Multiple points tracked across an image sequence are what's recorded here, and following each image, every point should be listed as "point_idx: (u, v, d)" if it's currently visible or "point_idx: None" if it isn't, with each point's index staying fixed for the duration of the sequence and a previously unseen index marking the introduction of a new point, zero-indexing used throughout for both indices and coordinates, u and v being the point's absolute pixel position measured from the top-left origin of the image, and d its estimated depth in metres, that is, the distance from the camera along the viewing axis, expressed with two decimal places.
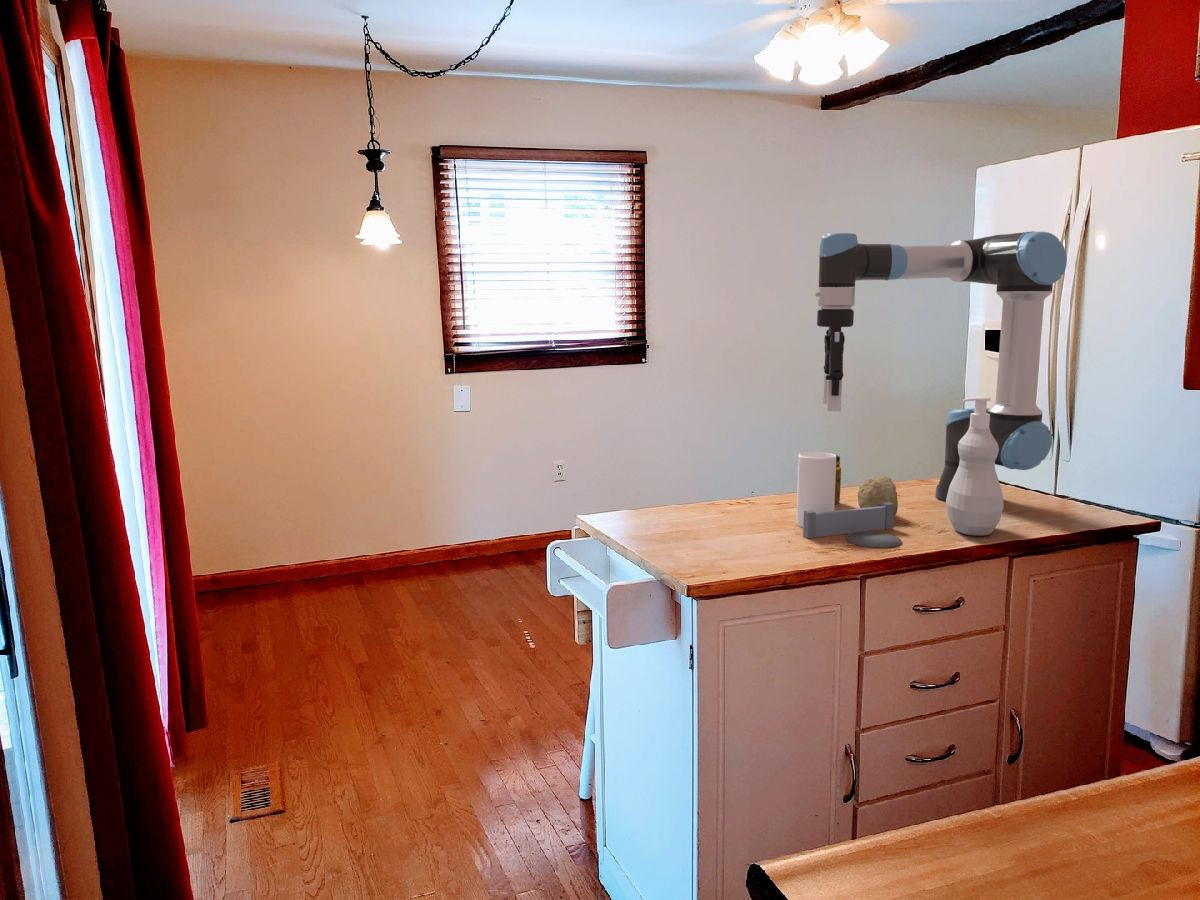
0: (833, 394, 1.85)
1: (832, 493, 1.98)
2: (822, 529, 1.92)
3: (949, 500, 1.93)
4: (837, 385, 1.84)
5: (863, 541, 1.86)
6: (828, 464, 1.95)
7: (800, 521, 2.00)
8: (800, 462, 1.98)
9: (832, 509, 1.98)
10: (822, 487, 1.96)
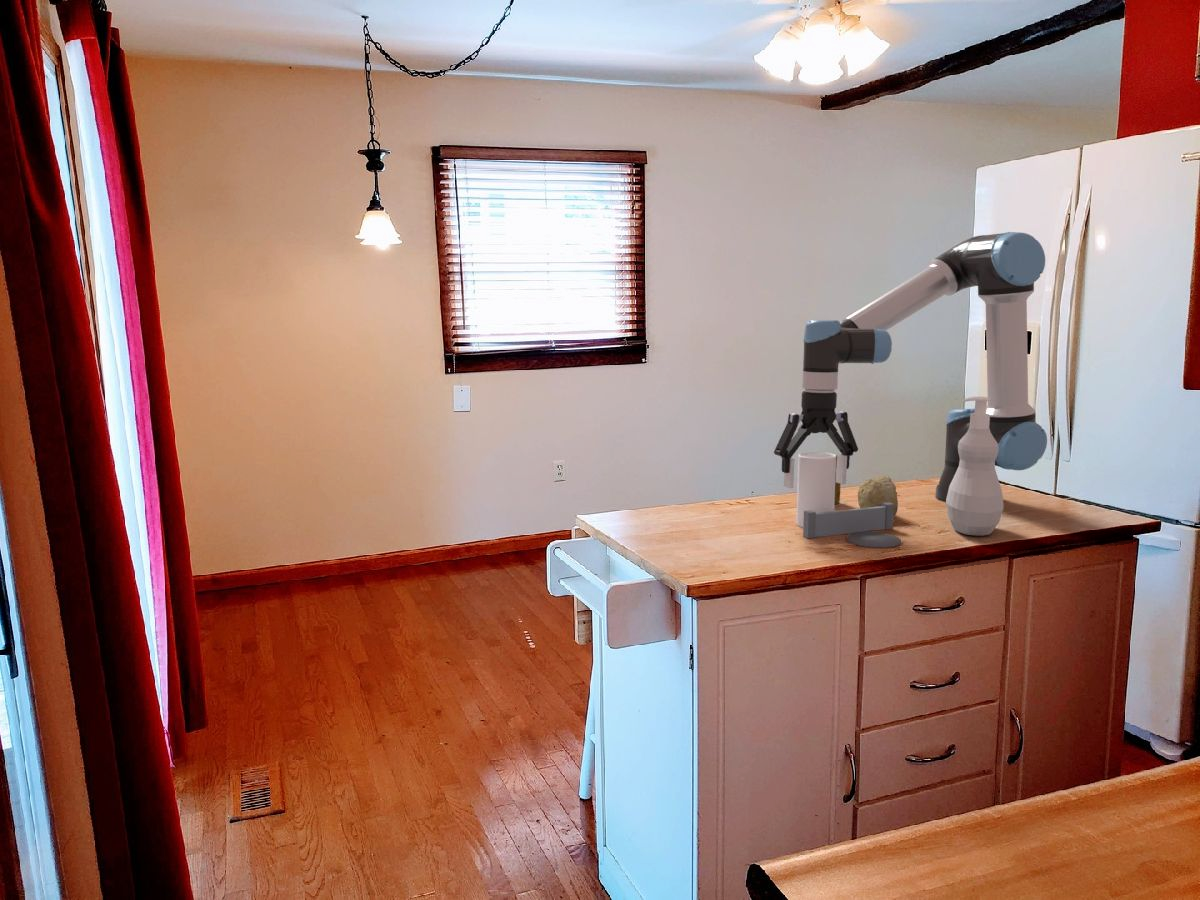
0: (782, 471, 1.97)
1: (832, 493, 1.98)
2: (822, 529, 1.92)
3: (949, 500, 1.93)
4: (784, 463, 1.96)
5: (863, 541, 1.86)
6: (828, 464, 1.95)
7: (800, 521, 2.00)
8: (800, 462, 1.98)
9: (832, 509, 1.98)
10: (822, 487, 1.96)
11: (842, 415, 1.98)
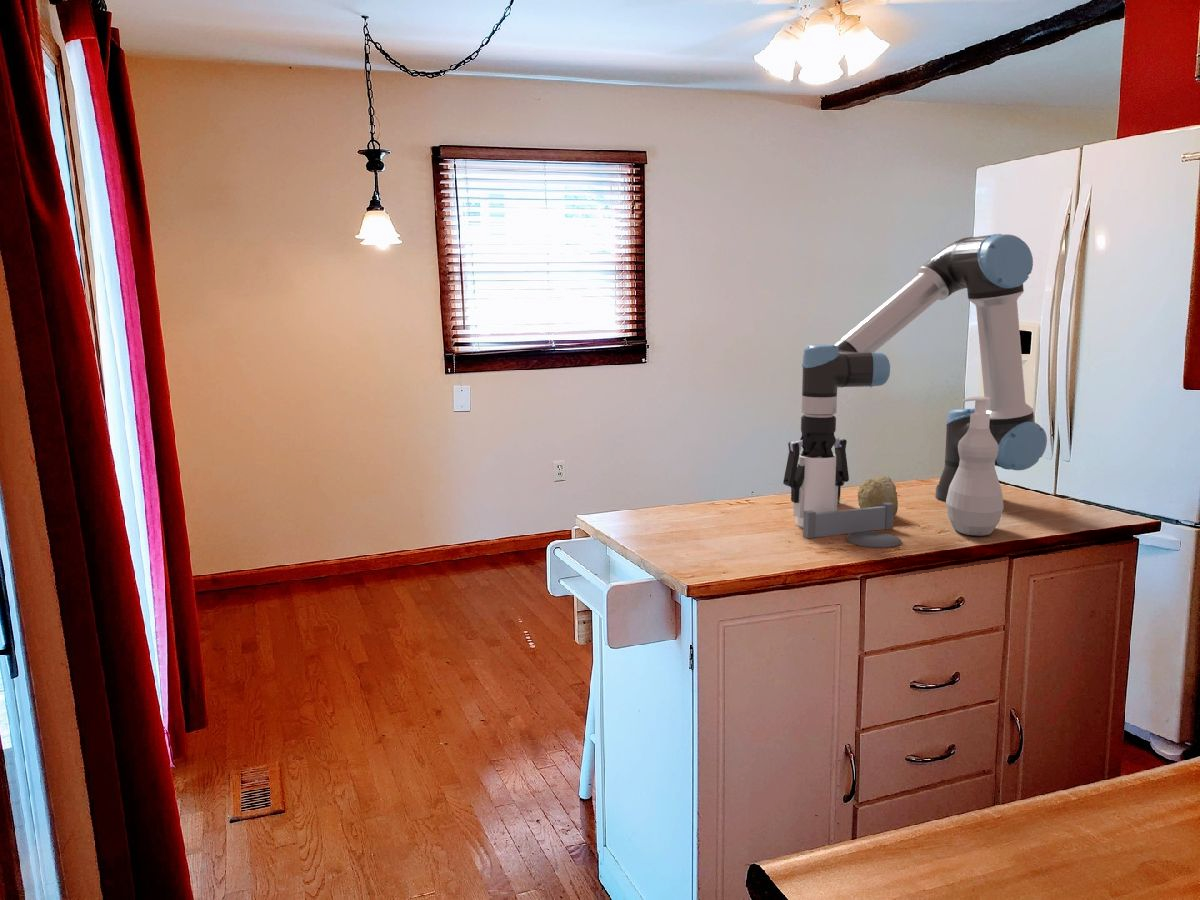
0: (792, 500, 1.99)
1: (832, 493, 1.98)
2: (822, 529, 1.92)
3: (949, 500, 1.93)
4: (793, 493, 1.98)
5: (863, 541, 1.86)
6: (828, 464, 1.95)
7: (800, 521, 2.00)
8: (800, 462, 1.98)
9: (832, 509, 1.98)
10: (822, 487, 1.96)
11: (841, 442, 1.99)
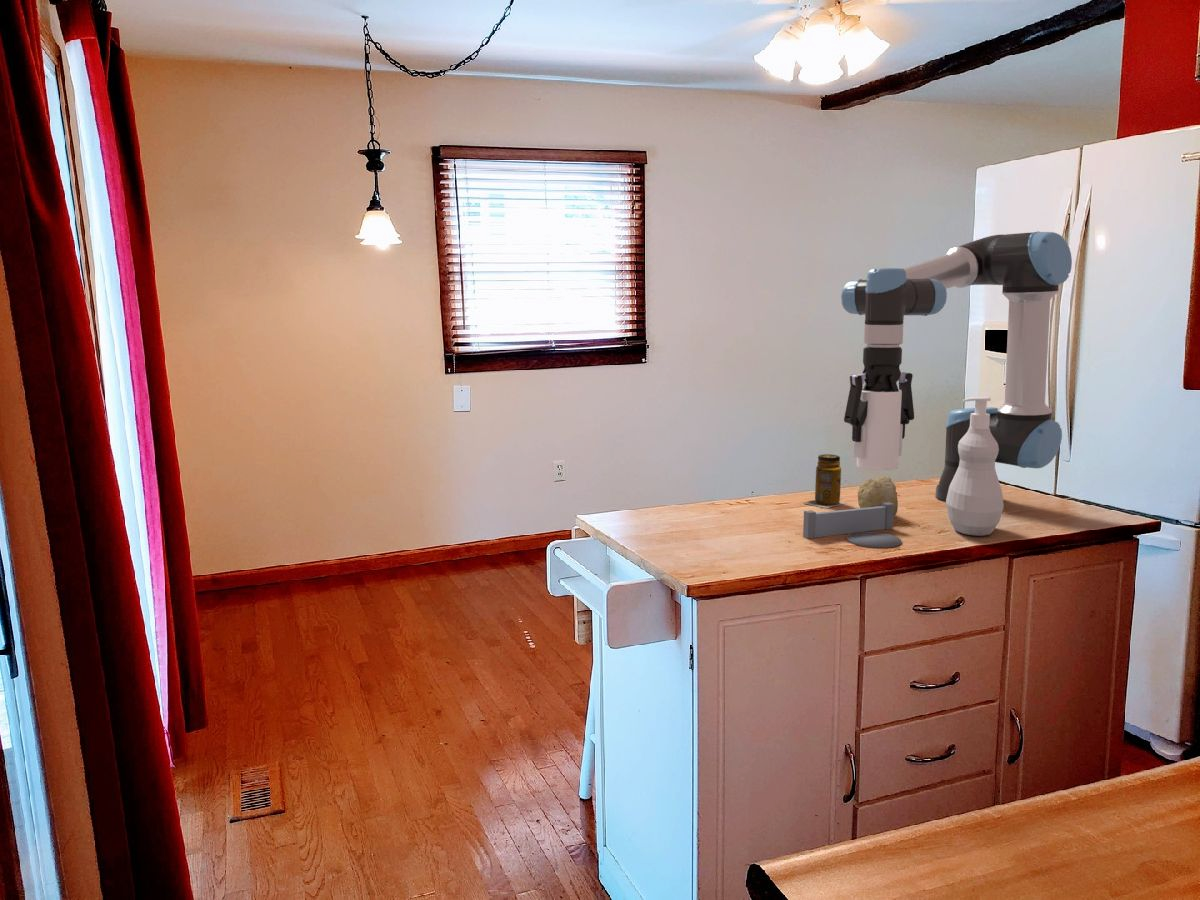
0: (853, 440, 1.83)
1: (897, 431, 1.81)
2: (822, 529, 1.92)
3: (949, 500, 1.93)
4: (855, 431, 1.82)
5: (863, 541, 1.86)
6: (894, 399, 1.79)
7: (862, 462, 1.83)
8: (862, 397, 1.82)
9: (897, 449, 1.82)
10: (887, 424, 1.80)
11: (907, 376, 1.83)
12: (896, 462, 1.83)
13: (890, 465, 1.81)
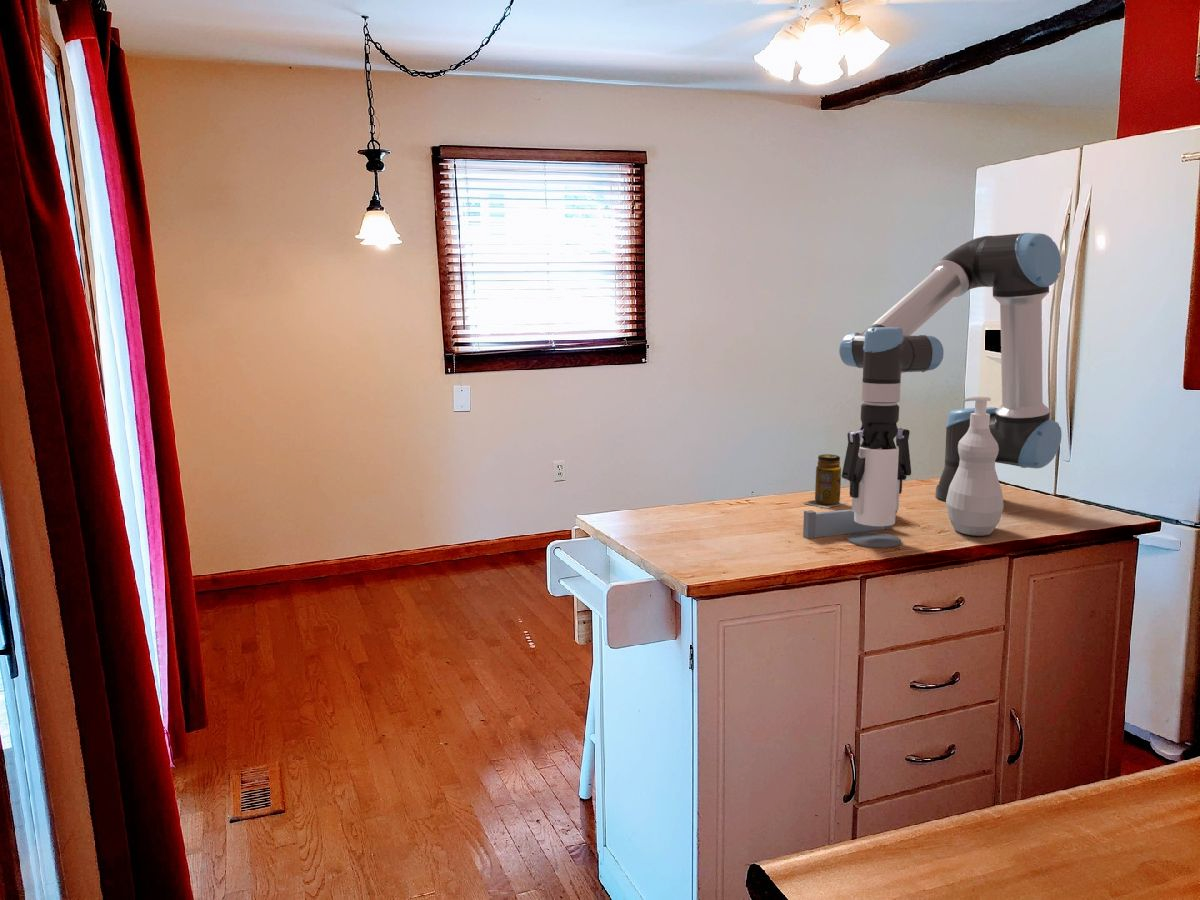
0: (850, 495, 1.85)
1: (894, 487, 1.83)
2: (822, 529, 1.92)
3: (949, 500, 1.93)
4: (853, 487, 1.84)
5: (863, 541, 1.86)
6: (891, 456, 1.81)
7: (859, 518, 1.85)
8: (860, 454, 1.84)
9: (894, 505, 1.84)
10: (884, 481, 1.82)
11: (904, 432, 1.85)
12: (893, 518, 1.84)
13: (887, 521, 1.83)
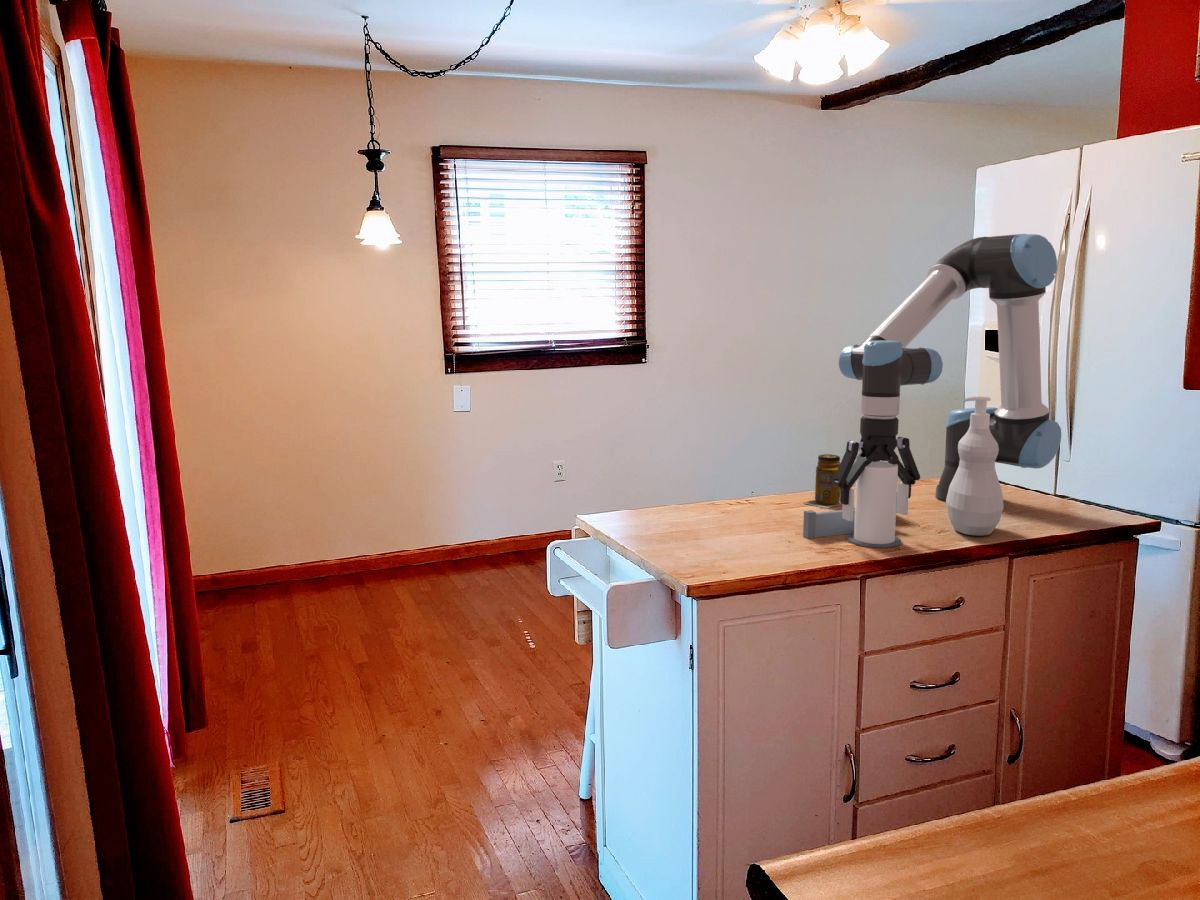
0: (841, 502, 1.84)
1: (894, 505, 1.84)
2: (822, 529, 1.92)
3: (949, 500, 1.93)
4: (843, 494, 1.83)
5: None
6: (890, 474, 1.82)
7: (859, 535, 1.86)
8: None
9: (894, 522, 1.85)
10: (884, 499, 1.82)
11: (904, 442, 1.86)
12: (893, 535, 1.85)
13: (887, 538, 1.84)
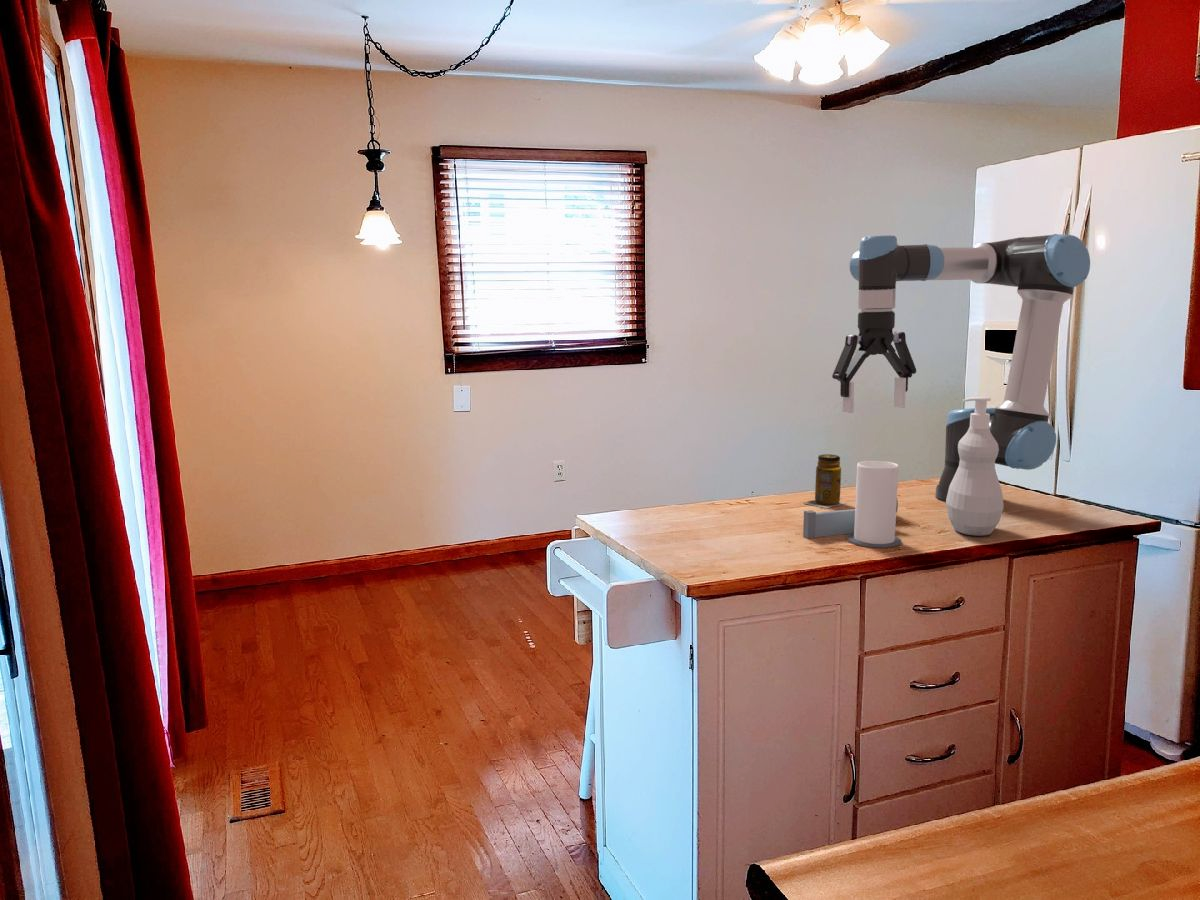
0: (841, 395, 1.90)
1: (894, 505, 1.84)
2: (822, 529, 1.92)
3: (949, 500, 1.93)
4: (843, 387, 1.89)
5: None
6: (890, 474, 1.82)
7: (859, 535, 1.86)
8: (860, 472, 1.85)
9: (894, 522, 1.85)
10: (884, 499, 1.82)
11: (900, 335, 1.92)
12: (893, 535, 1.85)
13: (887, 539, 1.84)
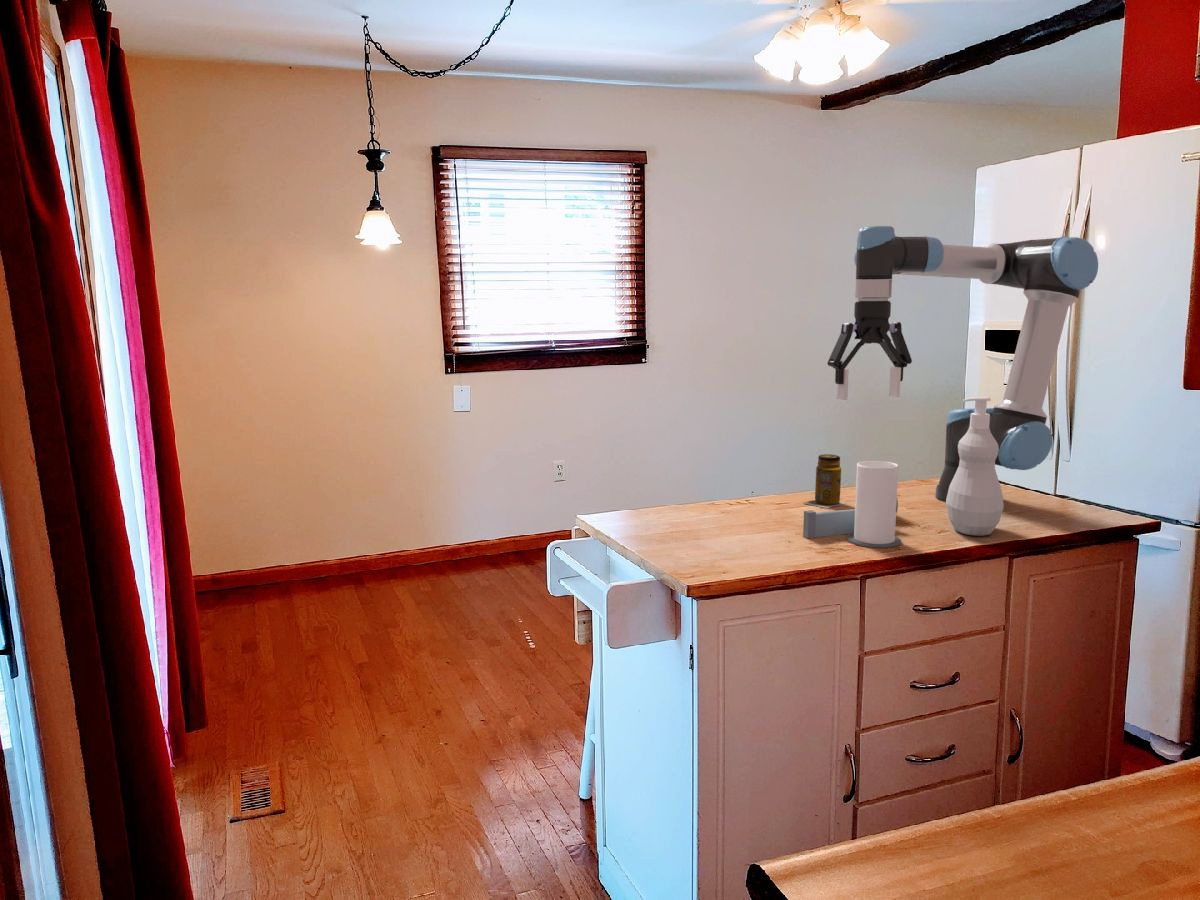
0: (836, 382, 1.93)
1: (894, 505, 1.84)
2: (822, 529, 1.92)
3: (949, 500, 1.93)
4: (838, 374, 1.92)
5: None
6: (890, 474, 1.82)
7: (859, 535, 1.86)
8: (859, 472, 1.85)
9: (894, 522, 1.85)
10: (884, 499, 1.82)
11: (896, 325, 1.95)
12: (893, 535, 1.85)
13: (887, 539, 1.84)
